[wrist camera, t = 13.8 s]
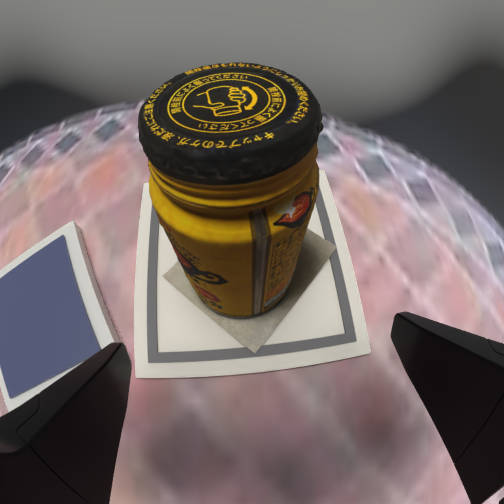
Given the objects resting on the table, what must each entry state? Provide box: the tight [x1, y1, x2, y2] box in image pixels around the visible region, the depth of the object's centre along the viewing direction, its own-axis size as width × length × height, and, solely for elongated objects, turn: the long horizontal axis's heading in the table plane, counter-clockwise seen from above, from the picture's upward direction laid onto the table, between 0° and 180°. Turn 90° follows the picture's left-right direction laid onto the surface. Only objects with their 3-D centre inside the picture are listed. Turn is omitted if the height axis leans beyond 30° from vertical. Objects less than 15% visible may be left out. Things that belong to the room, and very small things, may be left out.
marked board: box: [134, 170, 371, 378], centre depth 18 cm, size 14×14×1 cm
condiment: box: [138, 63, 337, 353], centre depth 13 cm, size 7×8×12 cm
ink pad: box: [0, 220, 120, 412], centre depth 15 cm, size 11×11×2 cm
